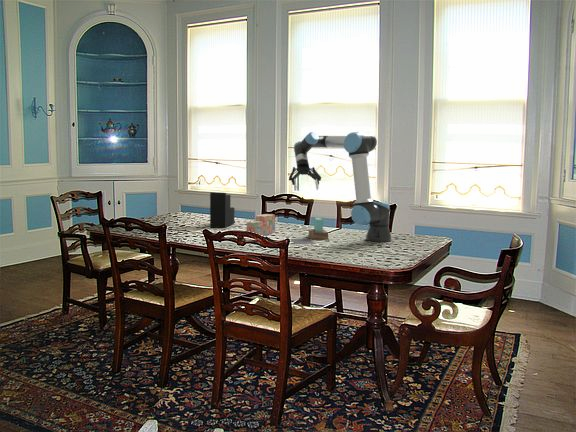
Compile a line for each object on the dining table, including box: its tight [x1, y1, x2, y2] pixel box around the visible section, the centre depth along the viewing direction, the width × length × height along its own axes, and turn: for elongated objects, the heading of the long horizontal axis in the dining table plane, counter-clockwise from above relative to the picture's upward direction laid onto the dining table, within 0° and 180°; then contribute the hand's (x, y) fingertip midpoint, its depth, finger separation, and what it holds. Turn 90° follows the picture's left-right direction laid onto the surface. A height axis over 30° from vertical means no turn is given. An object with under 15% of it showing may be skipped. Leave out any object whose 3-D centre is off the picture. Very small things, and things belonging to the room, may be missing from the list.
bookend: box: [209, 192, 236, 229], centre depth 397 cm, size 23×11×24 cm, turn 168°
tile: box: [313, 217, 324, 232], centre depth 354 cm, size 8×4×11 cm, turn 10°
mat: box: [289, 238, 316, 245], centre depth 342 cm, size 16×12×1 cm
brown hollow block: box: [307, 228, 330, 241], centre depth 354 cm, size 13×10×4 cm
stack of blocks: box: [245, 213, 276, 237], centre depth 362 cm, size 21×6×12 cm, turn 145°
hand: (306, 188), depth 357 cm, fingers open, 13 cm apart
